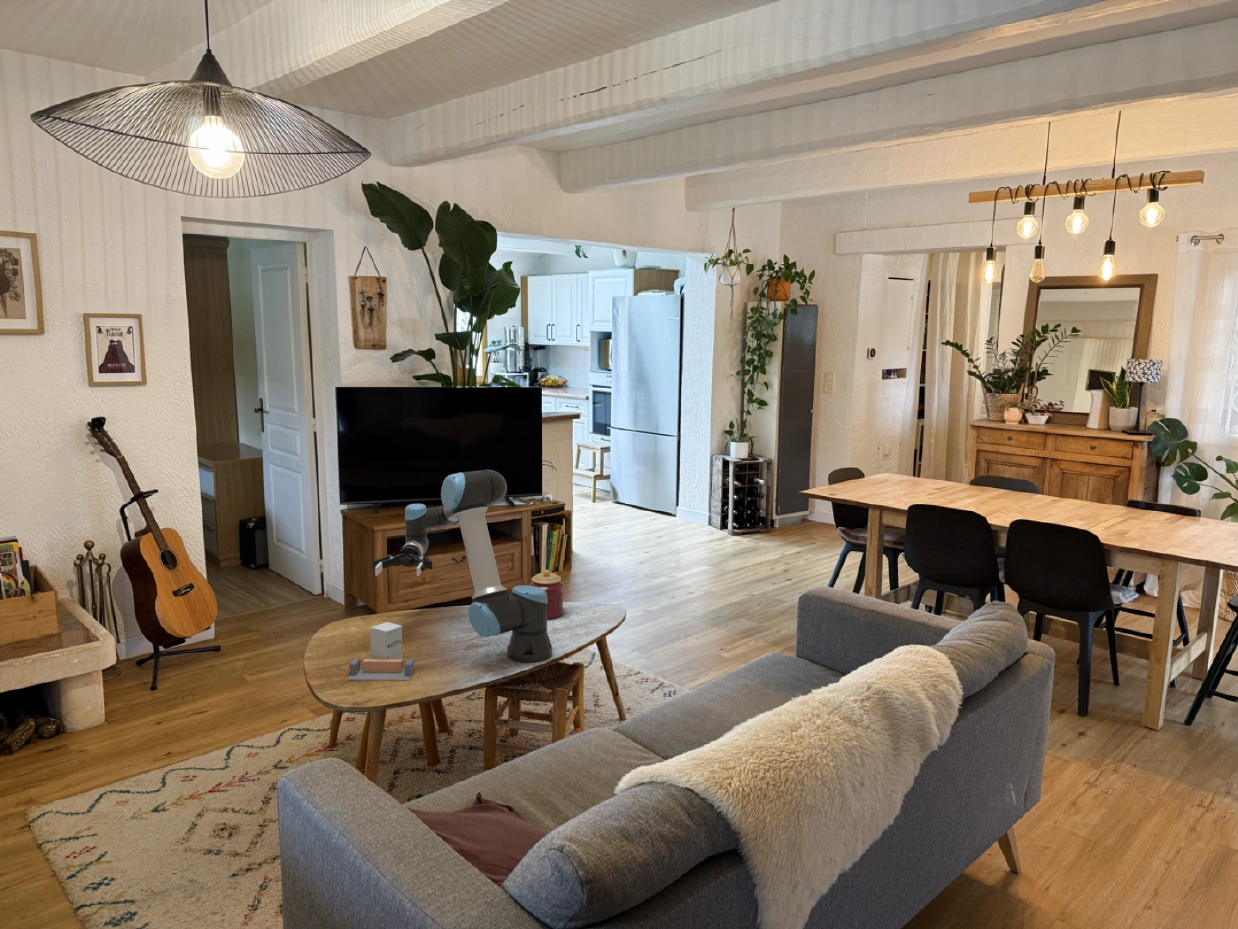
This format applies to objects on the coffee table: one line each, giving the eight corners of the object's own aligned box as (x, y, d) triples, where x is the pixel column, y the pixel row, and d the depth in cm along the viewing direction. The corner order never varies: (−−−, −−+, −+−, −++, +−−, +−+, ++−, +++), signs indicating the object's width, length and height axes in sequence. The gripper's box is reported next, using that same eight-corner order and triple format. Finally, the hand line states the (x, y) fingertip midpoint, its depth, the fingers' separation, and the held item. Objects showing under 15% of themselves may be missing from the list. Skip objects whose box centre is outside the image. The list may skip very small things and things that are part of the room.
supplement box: (386, 669, 268) (385, 631, 266) (369, 664, 271) (369, 627, 270) (403, 662, 274) (402, 625, 272) (387, 658, 278) (386, 621, 276)
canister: (567, 610, 326) (567, 566, 323) (557, 621, 314) (557, 576, 311) (535, 607, 329) (535, 563, 326) (524, 618, 317) (524, 573, 314)
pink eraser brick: (364, 669, 267) (364, 659, 267) (402, 669, 268) (402, 659, 267) (363, 672, 265) (362, 661, 265) (401, 672, 266) (401, 661, 265)
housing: (354, 669, 268) (353, 658, 267) (414, 670, 268) (414, 658, 268) (347, 680, 260) (346, 668, 259) (409, 680, 261) (408, 668, 260)
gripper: (446, 564, 300) (435, 583, 279) (375, 564, 299) (359, 582, 278) (445, 544, 299) (434, 561, 278) (374, 543, 298) (358, 560, 277)
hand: (397, 572), depth 278 cm, fingers open, 13 cm apart
